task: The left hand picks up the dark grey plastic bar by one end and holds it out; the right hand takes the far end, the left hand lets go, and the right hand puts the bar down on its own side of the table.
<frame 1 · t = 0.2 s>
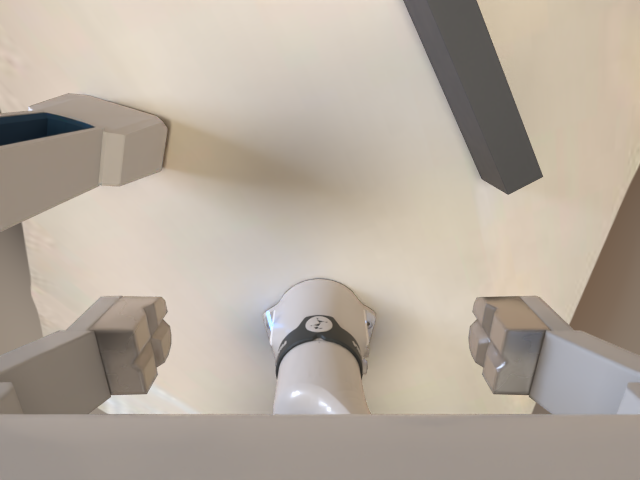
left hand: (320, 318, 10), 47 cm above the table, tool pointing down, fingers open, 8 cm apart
electronic device: (124, 132, 54), on the table
bar: (459, 83, 52), on the table
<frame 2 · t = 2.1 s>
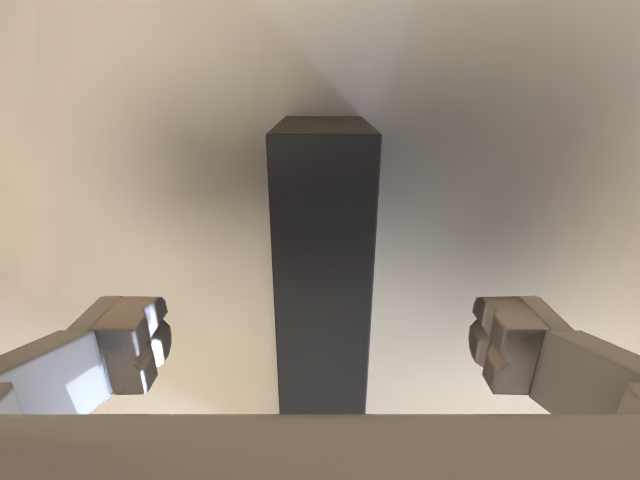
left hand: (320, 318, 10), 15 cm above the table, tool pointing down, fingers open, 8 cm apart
bar: (322, 313, 28), on the table
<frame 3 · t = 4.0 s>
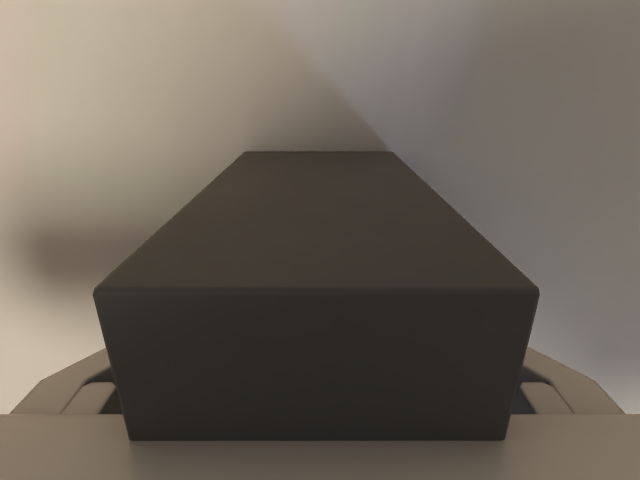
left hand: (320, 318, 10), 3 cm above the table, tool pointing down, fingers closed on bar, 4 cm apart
bar: (319, 469, 17), on the table, touching left hand
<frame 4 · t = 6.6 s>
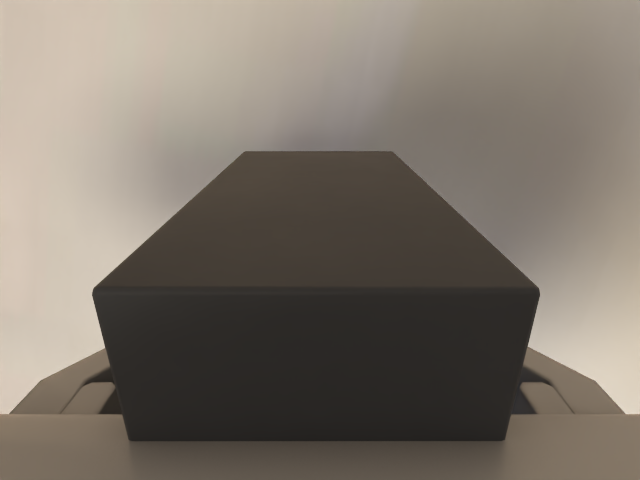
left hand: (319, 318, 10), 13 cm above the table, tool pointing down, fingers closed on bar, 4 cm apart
bar: (319, 469, 17), point 10 cm above the table, touching left hand
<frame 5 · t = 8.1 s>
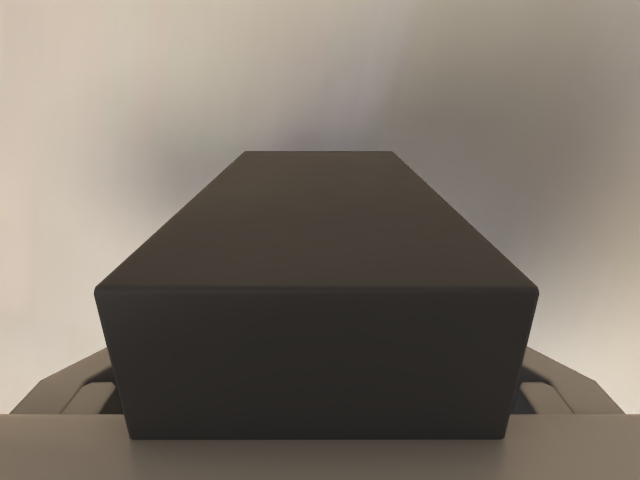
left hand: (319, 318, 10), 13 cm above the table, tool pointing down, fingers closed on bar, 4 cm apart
bar: (318, 468, 17), point 10 cm above the table, touching left hand, right hand
when the left hand's fingers open (13 cm above the table, at t = 9.2 s): bar stays where it is, held by the right hand.
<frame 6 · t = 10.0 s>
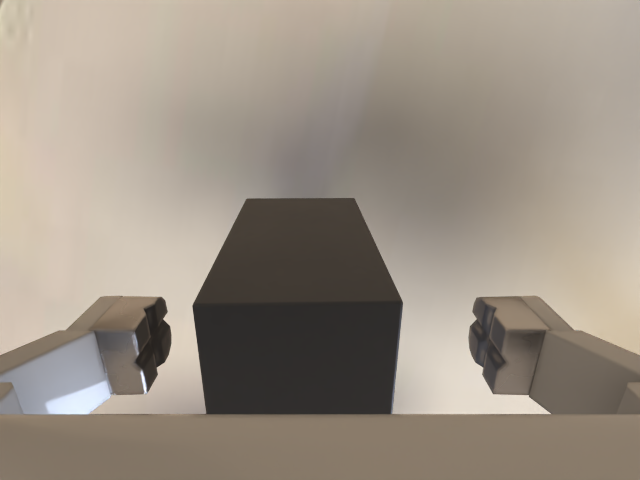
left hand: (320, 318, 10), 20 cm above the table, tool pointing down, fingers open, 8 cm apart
bar: (303, 440, 21), point 13 cm above the table, touching right hand
when the right hand's fingers open (4 cm above the table, at t = 13.2 s): bar stays where it is, on the table.
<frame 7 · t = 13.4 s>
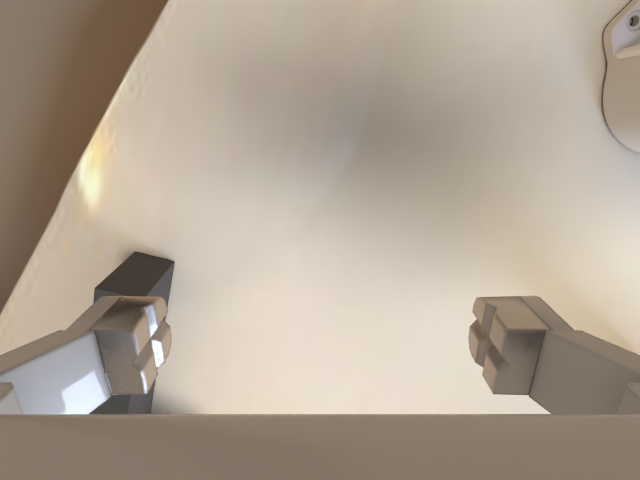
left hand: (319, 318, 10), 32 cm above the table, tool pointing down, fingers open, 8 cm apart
bar: (141, 350, 50), on the table
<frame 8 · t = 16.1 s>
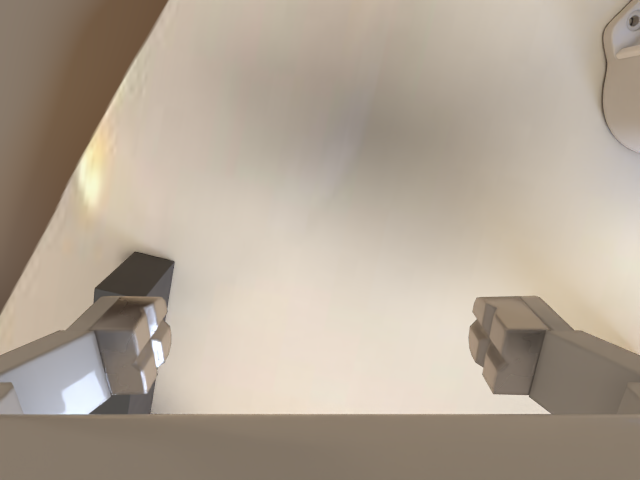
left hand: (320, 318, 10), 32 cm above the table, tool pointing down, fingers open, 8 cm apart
bar: (141, 350, 50), on the table
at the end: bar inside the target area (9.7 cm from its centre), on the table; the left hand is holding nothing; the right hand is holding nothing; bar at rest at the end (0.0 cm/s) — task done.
